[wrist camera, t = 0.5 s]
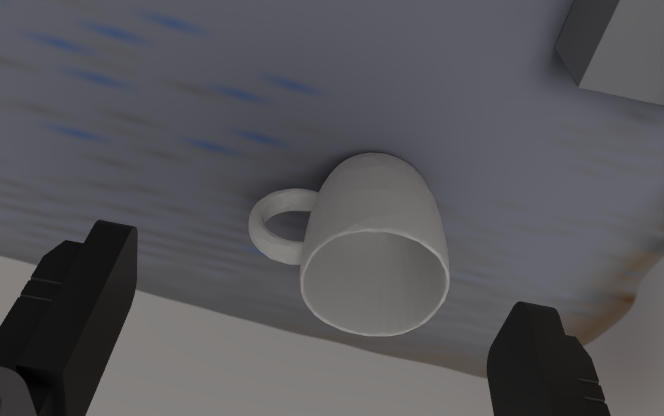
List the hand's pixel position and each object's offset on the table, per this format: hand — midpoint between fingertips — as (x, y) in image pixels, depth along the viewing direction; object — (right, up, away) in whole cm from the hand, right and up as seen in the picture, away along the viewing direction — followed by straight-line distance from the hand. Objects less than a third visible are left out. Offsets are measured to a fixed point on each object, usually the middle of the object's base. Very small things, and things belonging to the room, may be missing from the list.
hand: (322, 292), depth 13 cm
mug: (+1, +3, +32) cm, 32 cm away
